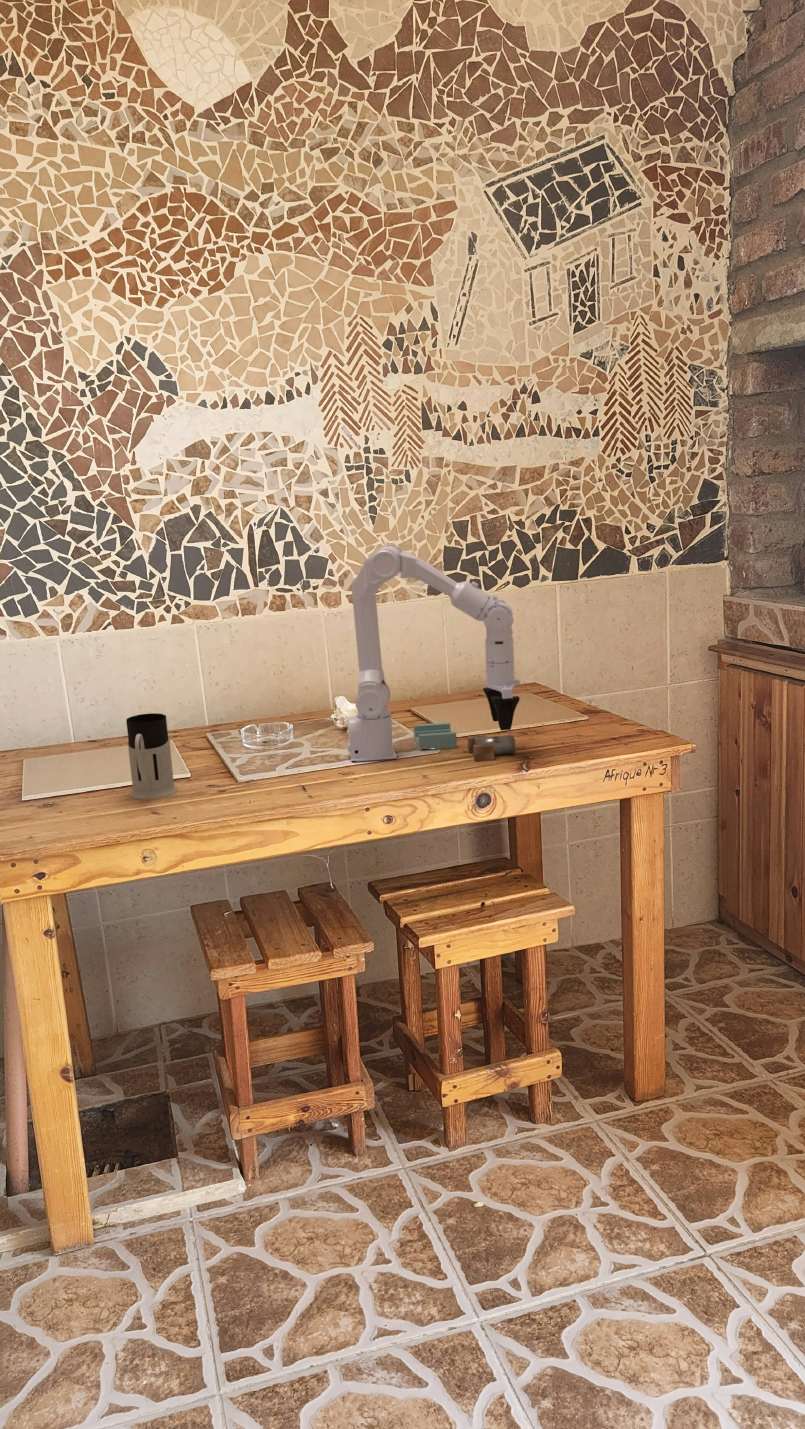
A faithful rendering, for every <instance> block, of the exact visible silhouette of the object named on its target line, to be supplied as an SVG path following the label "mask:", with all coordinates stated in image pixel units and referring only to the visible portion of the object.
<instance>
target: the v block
mask: <svg viewBox="0 0 805 1429" xmlns="http://www.w3.org/2000/svg"><path fill="white" fill-rule="evenodd" d="M414 738H415V739H414ZM413 739H414V741H415V743H417V744H416V745H418V746H419V748H418V750H419V749H430V748H435V749H434V750H445V749H457V748H458V744H457V740H458V739H457V732H456V731H452V729H451V722H450V721H449V722H434V723H420V724H413ZM418 746H417V747H418Z"/></svg>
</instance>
